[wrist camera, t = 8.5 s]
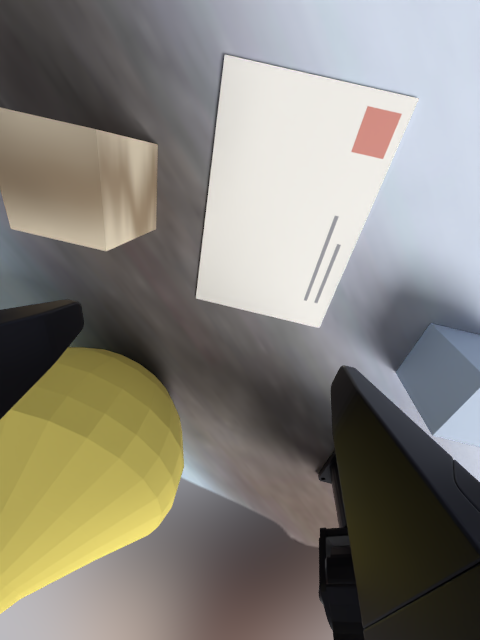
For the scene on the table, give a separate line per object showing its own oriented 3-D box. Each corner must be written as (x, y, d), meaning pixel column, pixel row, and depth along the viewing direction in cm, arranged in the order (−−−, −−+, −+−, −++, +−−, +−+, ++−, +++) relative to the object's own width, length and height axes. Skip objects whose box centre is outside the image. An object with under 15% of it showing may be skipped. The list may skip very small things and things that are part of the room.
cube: (453, 386, 21) (509, 455, 16) (395, 371, 21) (432, 435, 16) (497, 338, 19) (580, 402, 13) (430, 322, 19) (488, 379, 13)
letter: (319, 327, 20) (319, 328, 20) (196, 297, 20) (195, 298, 20) (417, 98, 13) (419, 98, 13) (225, 55, 13) (224, 54, 13)
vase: (129, 458, 33) (-15, 731, 17) (4, 365, 27) (-406, 652, 11) (238, 414, 26) (173, 813, 10) (103, 275, 20) (-655, 716, 4)
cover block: (156, 228, 18) (106, 251, 13) (88, 213, 18) (10, 228, 13) (157, 144, 15) (96, 129, 10) (78, 126, 15) (-23, 102, 10)
